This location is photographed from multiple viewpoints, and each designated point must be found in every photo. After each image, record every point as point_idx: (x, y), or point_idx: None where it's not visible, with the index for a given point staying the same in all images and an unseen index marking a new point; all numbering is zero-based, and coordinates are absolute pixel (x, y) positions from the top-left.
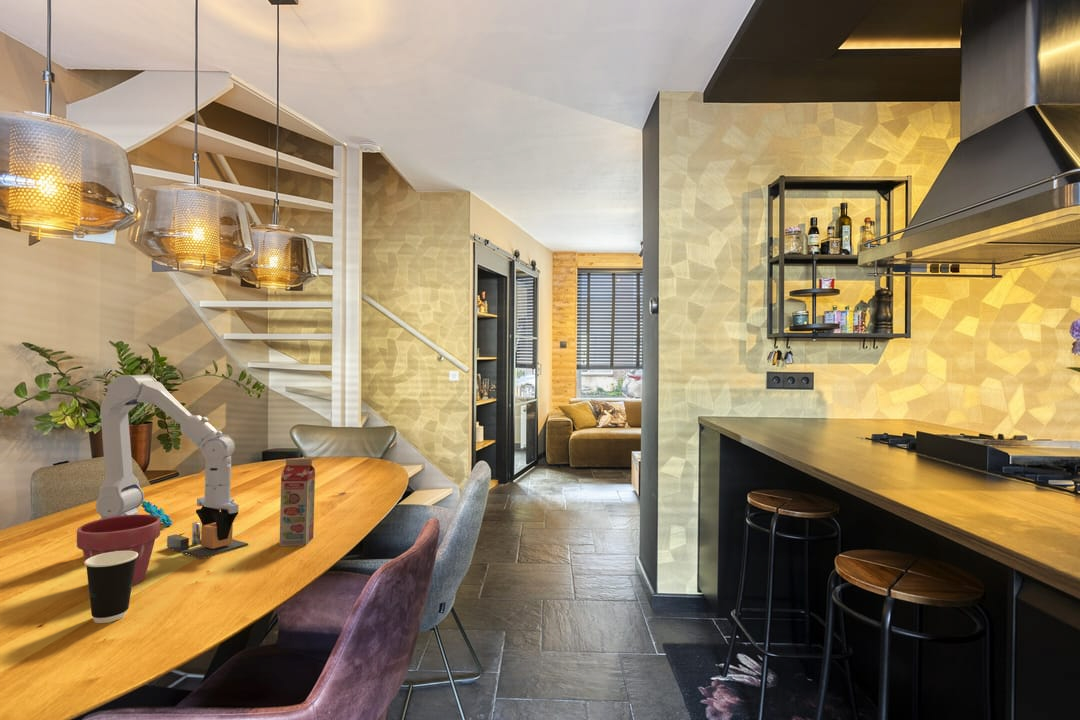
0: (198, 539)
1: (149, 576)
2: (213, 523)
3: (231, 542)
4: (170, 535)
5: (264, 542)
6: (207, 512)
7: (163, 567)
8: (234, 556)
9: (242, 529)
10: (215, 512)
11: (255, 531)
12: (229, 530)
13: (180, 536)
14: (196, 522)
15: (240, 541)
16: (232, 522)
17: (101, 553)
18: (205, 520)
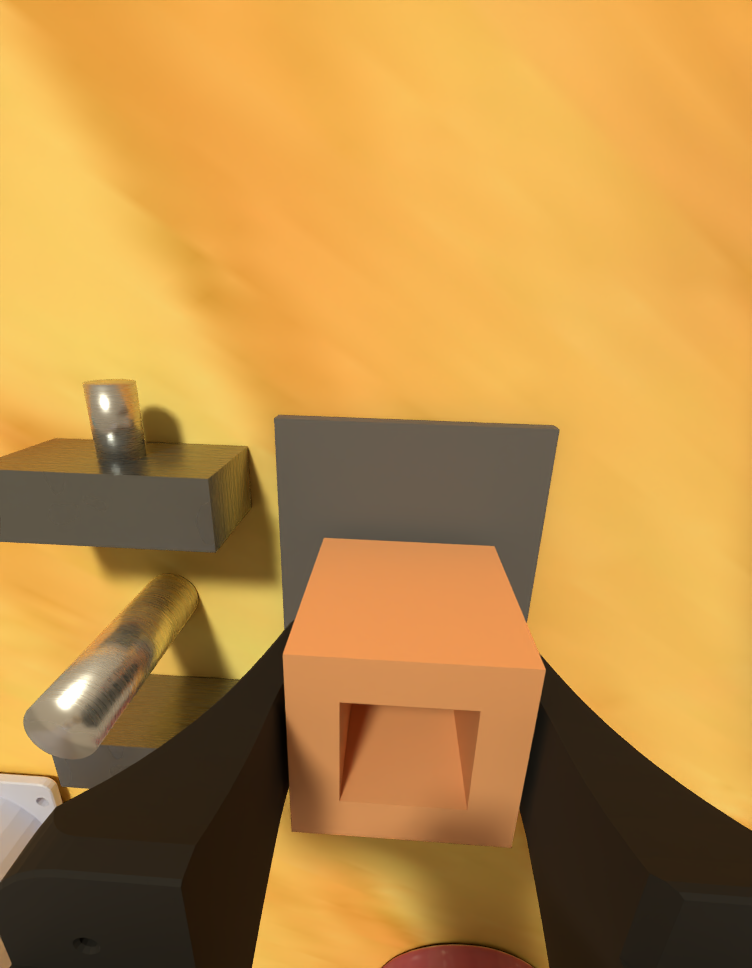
0: (179, 618)
1: (505, 934)
2: (318, 748)
3: (494, 555)
4: (56, 769)
5: (627, 284)
6: (233, 961)
7: (444, 866)
8: (670, 631)
9: (3, 82)
10: (233, 843)
11: (194, 44)
12: (562, 684)
13: (143, 757)
14: (36, 719)
15: (446, 427)
16: (636, 755)
17: None
18: (271, 849)
